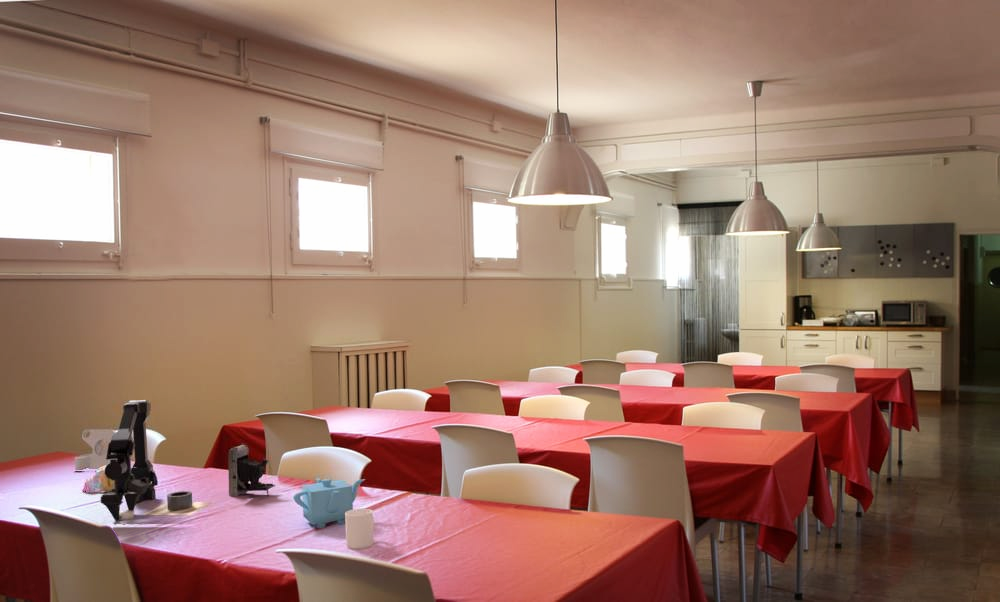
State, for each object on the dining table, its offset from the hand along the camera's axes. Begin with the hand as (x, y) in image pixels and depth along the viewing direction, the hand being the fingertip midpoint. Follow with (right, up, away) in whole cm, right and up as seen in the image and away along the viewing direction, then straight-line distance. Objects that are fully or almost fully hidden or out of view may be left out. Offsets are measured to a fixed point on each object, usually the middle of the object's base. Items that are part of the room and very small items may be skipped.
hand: (124, 517), depth 297 cm
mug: (+90, +1, -37) cm, 98 cm away
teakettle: (+75, +1, -11) cm, 76 cm away
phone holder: (-55, -2, +93) cm, 108 cm away
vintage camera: (+37, 0, +30) cm, 47 cm away
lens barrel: (+15, +1, +11) cm, 19 cm away
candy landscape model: (-31, -2, +56) cm, 64 cm away
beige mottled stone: (0, -2, 0) cm, 2 cm away
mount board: (+15, -1, +10) cm, 18 cm away
